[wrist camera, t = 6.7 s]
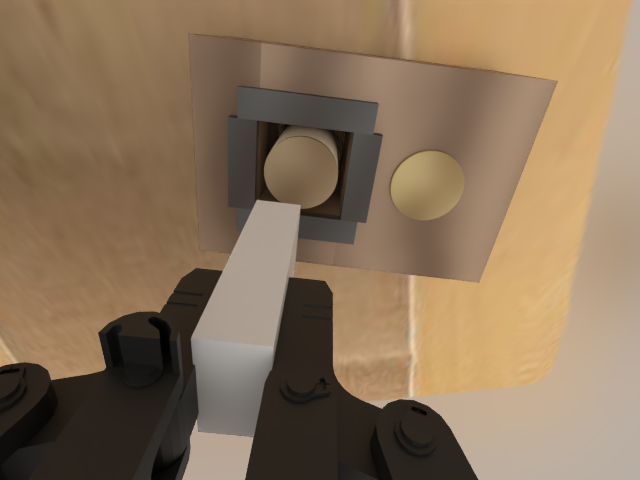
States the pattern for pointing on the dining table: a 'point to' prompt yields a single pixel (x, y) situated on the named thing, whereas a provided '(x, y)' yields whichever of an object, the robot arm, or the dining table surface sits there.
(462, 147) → the socket block
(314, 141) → the oak peg
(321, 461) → the robot arm
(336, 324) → the dining table surface
